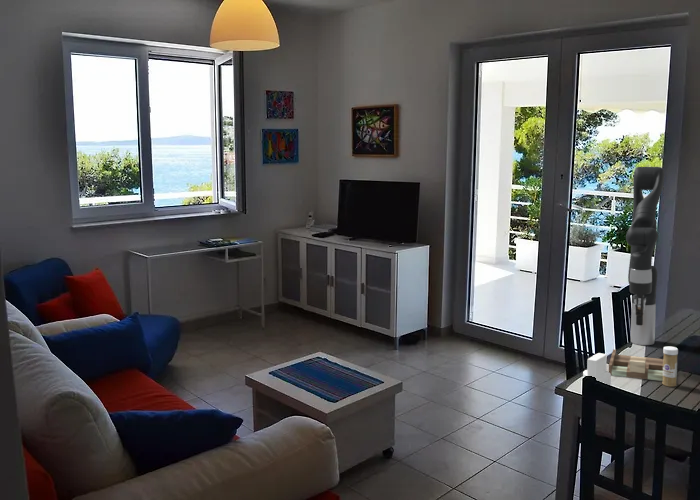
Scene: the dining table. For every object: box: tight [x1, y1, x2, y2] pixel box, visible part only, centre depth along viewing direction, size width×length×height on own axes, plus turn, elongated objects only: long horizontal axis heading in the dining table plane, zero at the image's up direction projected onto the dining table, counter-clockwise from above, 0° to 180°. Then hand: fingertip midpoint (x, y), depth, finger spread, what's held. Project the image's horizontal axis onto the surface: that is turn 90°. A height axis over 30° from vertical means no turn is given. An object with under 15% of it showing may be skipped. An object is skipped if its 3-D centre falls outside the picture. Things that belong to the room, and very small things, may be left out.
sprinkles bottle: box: [661, 345, 679, 387], centre depth 217 cm, size 5×5×13 cm
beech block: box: [630, 355, 646, 373], centre depth 228 cm, size 6×5×4 cm
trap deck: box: [608, 349, 664, 382], centre depth 233 cm, size 19×19×4 cm
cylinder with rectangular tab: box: [582, 352, 612, 385], centre depth 215 cm, size 9×9×12 cm
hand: (639, 324), depth 236 cm, fingers closed
